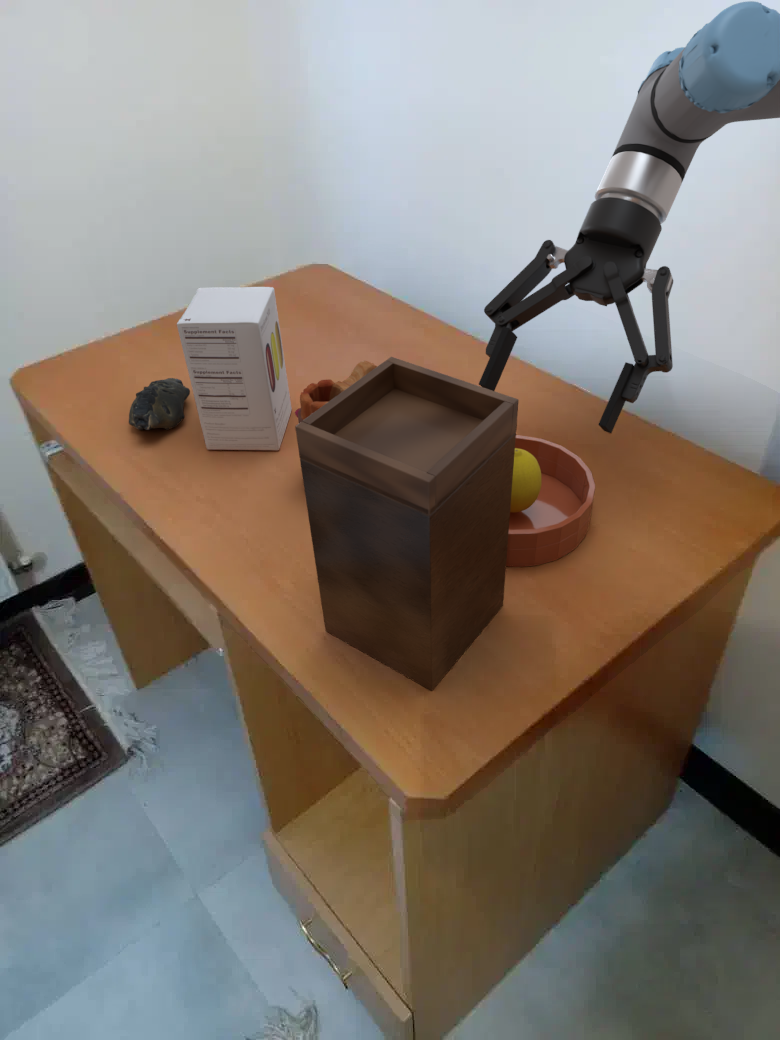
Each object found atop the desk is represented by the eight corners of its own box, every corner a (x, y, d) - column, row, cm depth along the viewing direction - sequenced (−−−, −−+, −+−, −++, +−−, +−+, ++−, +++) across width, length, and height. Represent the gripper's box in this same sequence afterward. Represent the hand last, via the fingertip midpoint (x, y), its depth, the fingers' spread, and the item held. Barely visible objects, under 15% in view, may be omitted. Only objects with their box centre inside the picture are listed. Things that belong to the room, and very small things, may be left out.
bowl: (615, 499, 86) (621, 466, 83) (543, 589, 76) (547, 556, 73) (486, 451, 93) (487, 419, 90) (406, 527, 84) (405, 494, 81)
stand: (503, 605, 75) (516, 431, 62) (431, 691, 68) (429, 516, 55) (400, 556, 80) (392, 387, 67) (325, 631, 73) (299, 458, 60)
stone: (201, 388, 107) (193, 352, 103) (177, 444, 97) (167, 407, 93) (152, 388, 107) (142, 353, 104) (122, 445, 97) (111, 408, 94)
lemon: (478, 500, 86) (480, 440, 81) (524, 489, 87) (530, 429, 82) (498, 533, 82) (502, 472, 77) (547, 520, 83) (554, 459, 78)
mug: (328, 511, 86) (316, 413, 78) (289, 484, 90) (274, 388, 82) (409, 461, 92) (406, 365, 84) (369, 437, 96) (363, 344, 88)
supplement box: (280, 452, 95) (258, 324, 84) (205, 451, 96) (173, 324, 84) (293, 408, 102) (275, 284, 91) (223, 407, 103) (196, 285, 92)
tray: (516, 431, 62) (518, 399, 60) (429, 516, 55) (429, 482, 53) (392, 387, 67) (391, 356, 65) (299, 458, 60) (294, 426, 58)
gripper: (755, 255, 77) (666, 456, 78) (529, 208, 89) (454, 383, 90) (751, 218, 70) (654, 438, 72) (508, 173, 82) (427, 362, 83)
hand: (542, 408), depth 81 cm, fingers open, 13 cm apart
